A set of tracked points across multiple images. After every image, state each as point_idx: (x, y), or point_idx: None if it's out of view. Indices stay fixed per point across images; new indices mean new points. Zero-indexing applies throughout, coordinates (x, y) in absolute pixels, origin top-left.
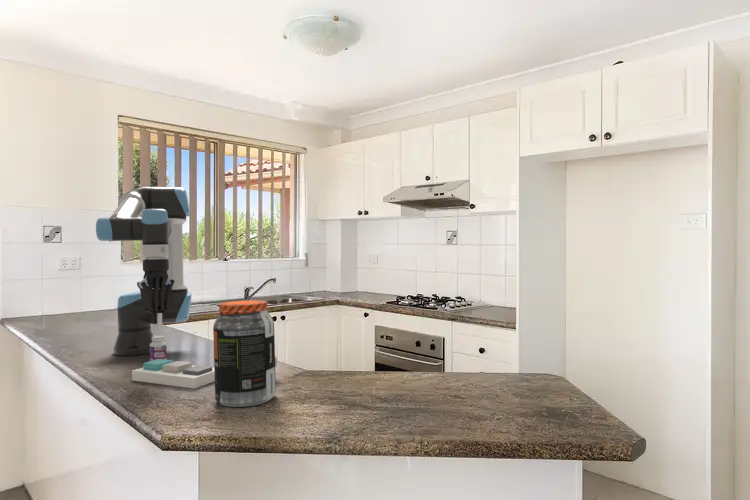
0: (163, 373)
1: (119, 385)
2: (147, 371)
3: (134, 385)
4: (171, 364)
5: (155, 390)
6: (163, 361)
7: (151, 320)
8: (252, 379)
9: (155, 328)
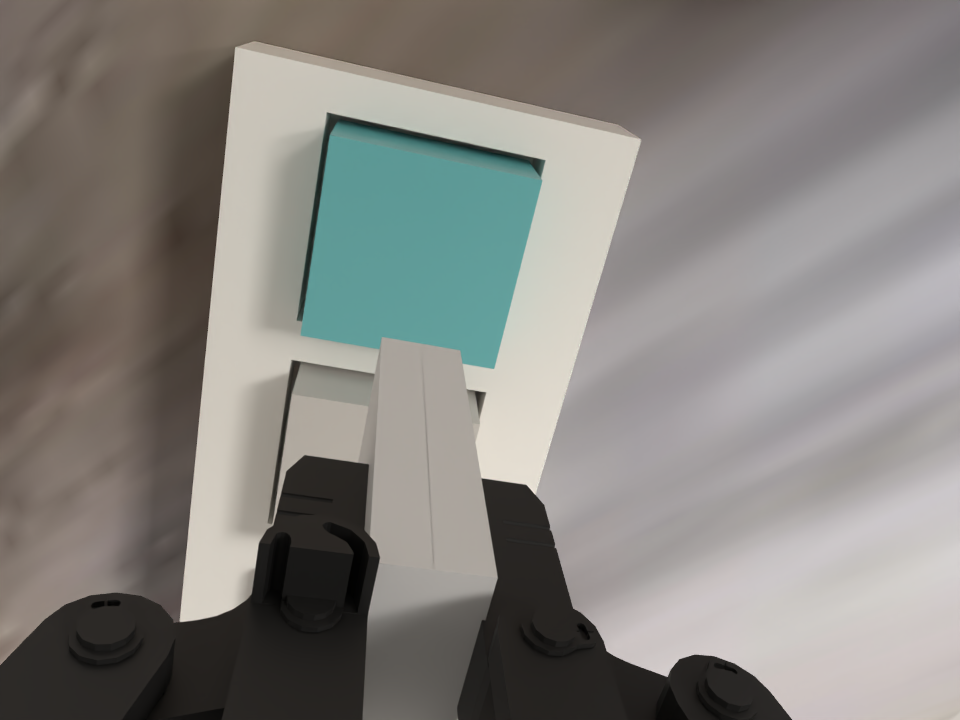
0: (224, 427)
1: (71, 36)
2: (248, 241)
3: (119, 184)
4: (334, 456)
5: (62, 440)
6: (433, 310)
7: (279, 514)
8: None
9: (365, 450)
